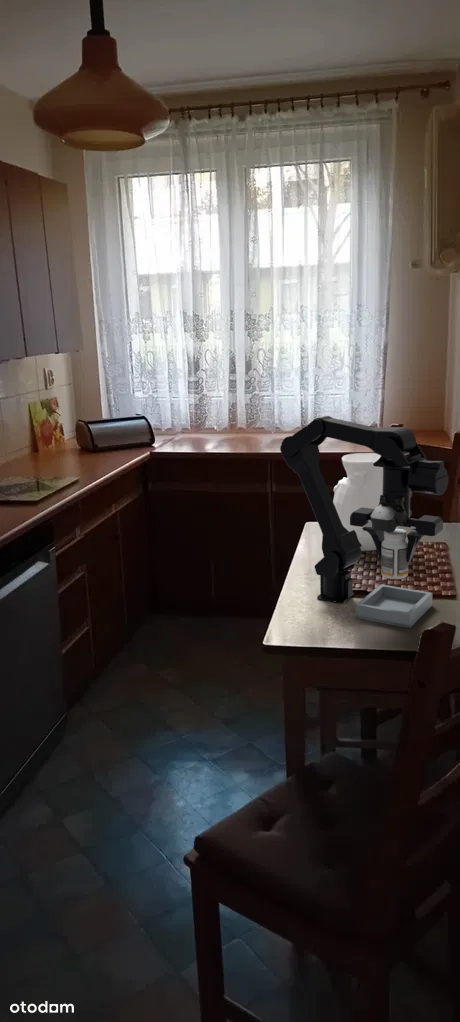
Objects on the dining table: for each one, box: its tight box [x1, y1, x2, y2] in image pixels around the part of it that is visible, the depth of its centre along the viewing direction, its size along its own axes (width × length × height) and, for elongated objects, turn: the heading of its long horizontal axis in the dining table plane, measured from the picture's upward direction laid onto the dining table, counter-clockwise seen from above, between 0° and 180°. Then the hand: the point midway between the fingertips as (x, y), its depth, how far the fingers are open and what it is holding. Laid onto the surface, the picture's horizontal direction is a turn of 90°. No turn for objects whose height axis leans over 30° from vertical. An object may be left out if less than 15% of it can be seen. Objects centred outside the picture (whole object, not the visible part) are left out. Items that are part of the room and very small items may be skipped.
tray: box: [355, 584, 433, 629], centre depth 170 cm, size 12×14×3 cm
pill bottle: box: [380, 528, 409, 580], centre depth 167 cm, size 6×6×10 cm
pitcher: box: [332, 452, 399, 552], centre depth 214 cm, size 19×18×25 cm
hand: (394, 559), depth 168 cm, fingers closed on pill bottle, 6 cm apart
